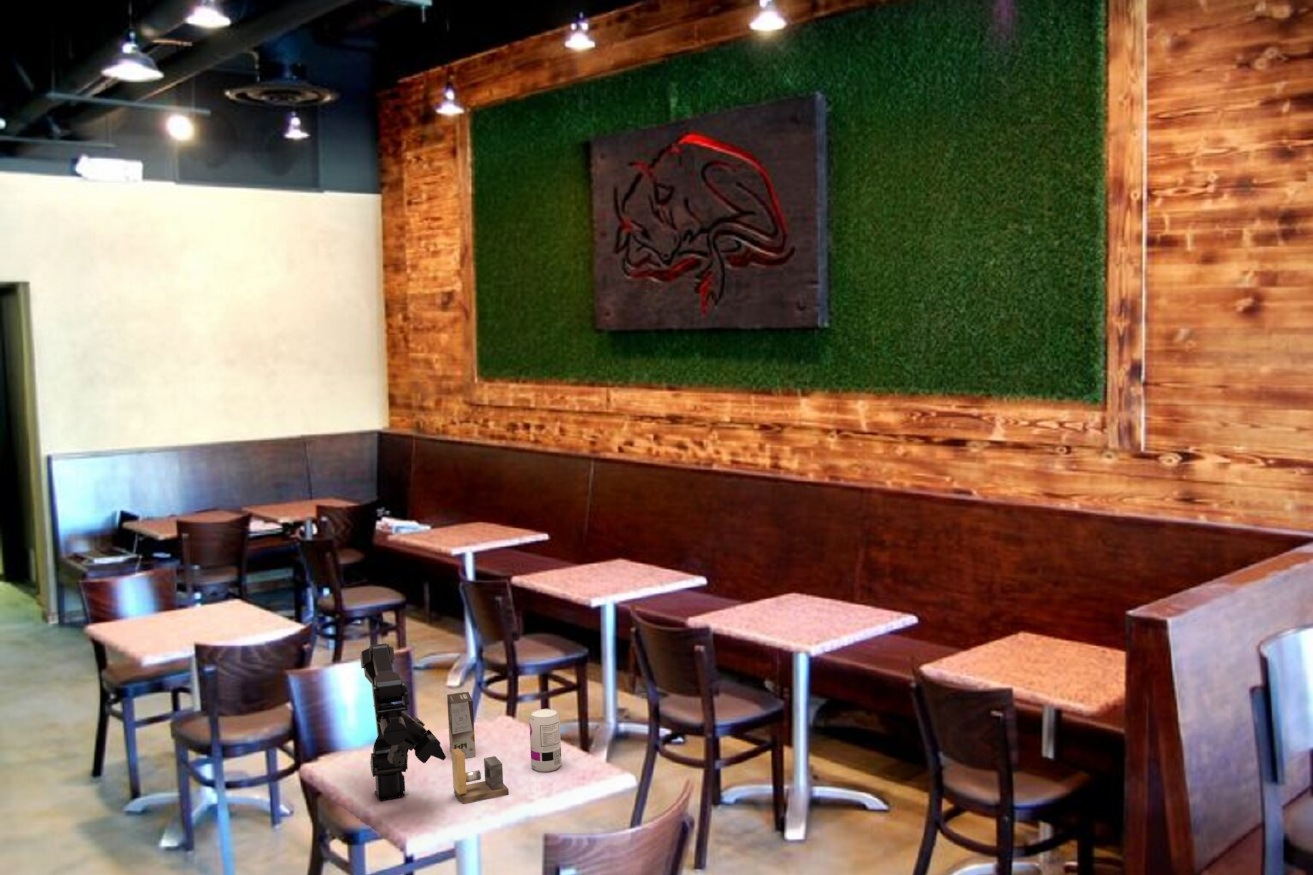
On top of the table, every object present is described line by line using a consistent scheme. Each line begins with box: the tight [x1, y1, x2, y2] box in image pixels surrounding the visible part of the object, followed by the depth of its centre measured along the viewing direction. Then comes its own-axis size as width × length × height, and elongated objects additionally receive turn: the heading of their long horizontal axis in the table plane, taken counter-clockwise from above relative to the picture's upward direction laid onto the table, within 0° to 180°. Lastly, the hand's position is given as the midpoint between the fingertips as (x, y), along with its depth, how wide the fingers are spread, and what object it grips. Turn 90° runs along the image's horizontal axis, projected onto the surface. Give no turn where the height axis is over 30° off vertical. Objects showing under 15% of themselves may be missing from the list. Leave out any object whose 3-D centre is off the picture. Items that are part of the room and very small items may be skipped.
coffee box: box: [446, 691, 476, 759], centre depth 334 cm, size 9×6×16 cm
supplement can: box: [528, 708, 562, 773], centre depth 322 cm, size 8×8×15 cm
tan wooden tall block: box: [451, 749, 482, 795], centre depth 303 cm, size 6×5×10 cm
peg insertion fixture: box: [453, 755, 510, 804], centre depth 305 cm, size 12×8×8 cm, turn 115°
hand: (444, 758), depth 300 cm, fingers closed
